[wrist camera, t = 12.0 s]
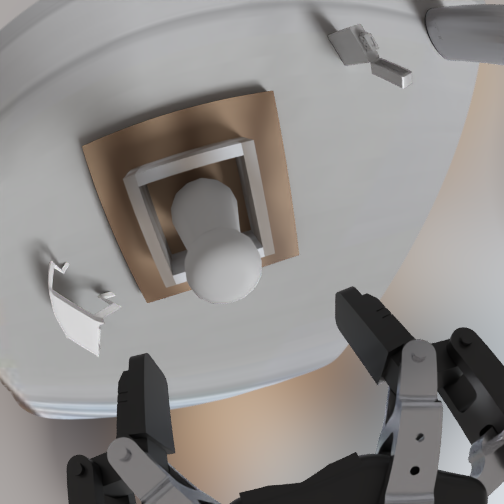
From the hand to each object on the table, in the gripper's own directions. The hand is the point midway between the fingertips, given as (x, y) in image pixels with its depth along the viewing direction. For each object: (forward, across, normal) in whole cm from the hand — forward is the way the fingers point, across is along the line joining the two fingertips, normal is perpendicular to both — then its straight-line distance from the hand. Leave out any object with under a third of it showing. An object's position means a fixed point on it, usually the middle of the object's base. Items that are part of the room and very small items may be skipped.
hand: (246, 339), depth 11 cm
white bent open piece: (+19, +17, +6) cm, 26 cm away
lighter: (+19, -19, -12) cm, 30 cm away
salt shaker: (+18, 0, 0) cm, 18 cm away
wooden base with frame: (+19, 0, 0) cm, 19 cm away
